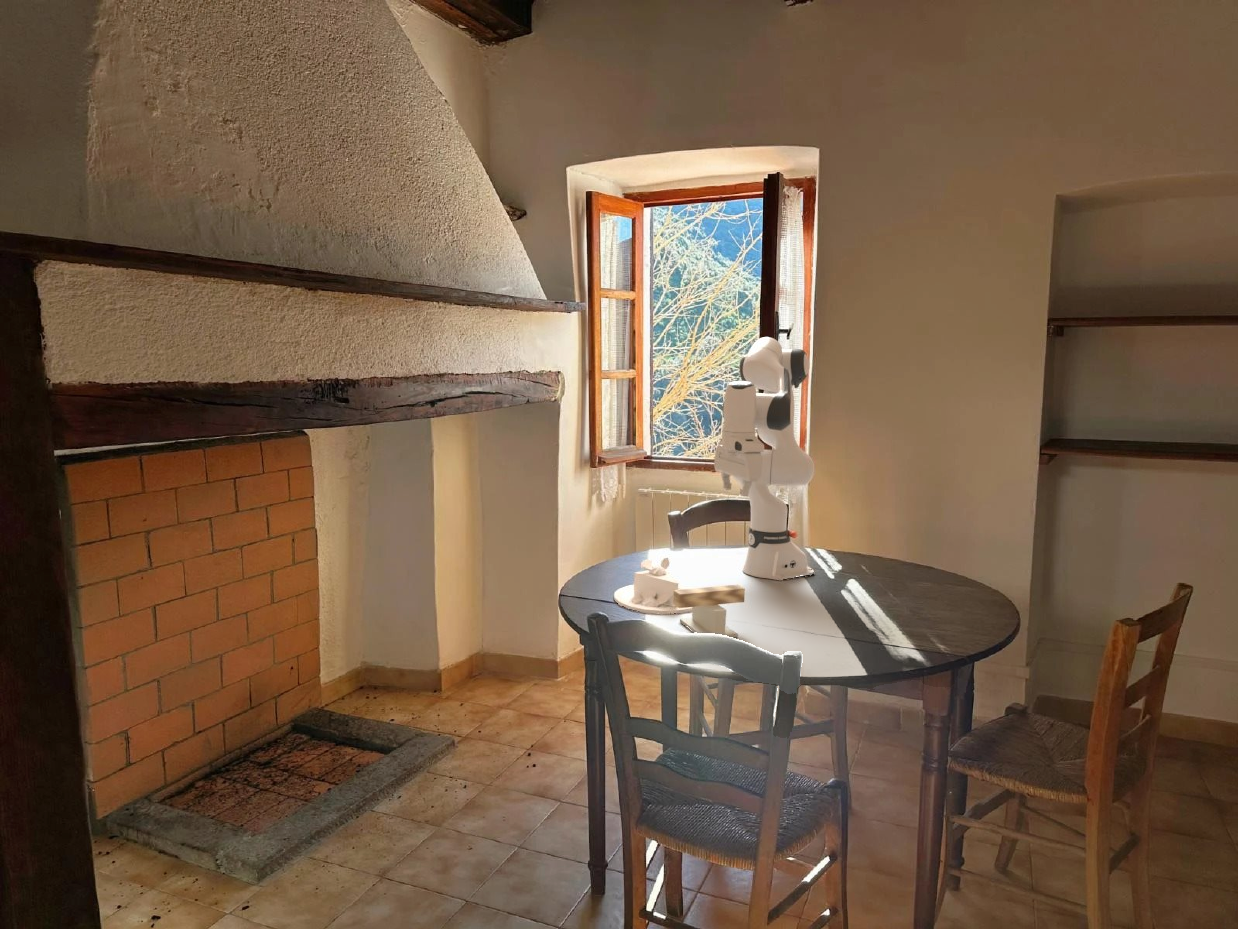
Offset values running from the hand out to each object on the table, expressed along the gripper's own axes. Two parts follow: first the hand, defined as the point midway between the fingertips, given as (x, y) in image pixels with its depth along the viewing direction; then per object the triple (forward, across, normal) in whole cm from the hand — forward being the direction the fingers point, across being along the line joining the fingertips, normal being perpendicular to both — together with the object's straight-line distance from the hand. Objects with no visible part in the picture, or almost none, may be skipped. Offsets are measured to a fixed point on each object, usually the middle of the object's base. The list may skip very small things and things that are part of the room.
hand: (735, 492), depth 224 cm
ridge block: (+31, +18, -16) cm, 39 cm away
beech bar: (+24, +18, -16) cm, 34 cm away
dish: (+32, -8, -18) cm, 37 cm away
